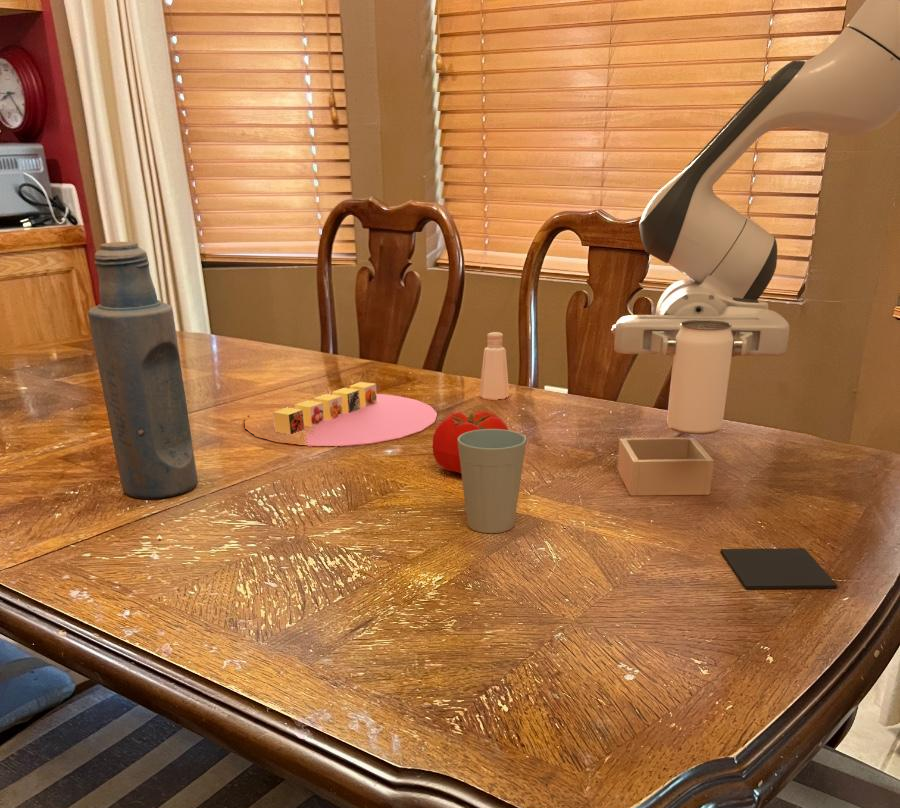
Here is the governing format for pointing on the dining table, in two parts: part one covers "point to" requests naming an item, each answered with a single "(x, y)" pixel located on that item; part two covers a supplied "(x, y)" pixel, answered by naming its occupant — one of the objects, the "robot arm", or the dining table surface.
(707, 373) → the can
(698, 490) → the caddy
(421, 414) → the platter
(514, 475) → the cup
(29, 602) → the dining table surface
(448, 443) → the tomato
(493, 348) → the salt shaker
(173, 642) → the dining table surface
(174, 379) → the bottle
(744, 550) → the mat
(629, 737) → the dining table surface
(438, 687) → the dining table surface
